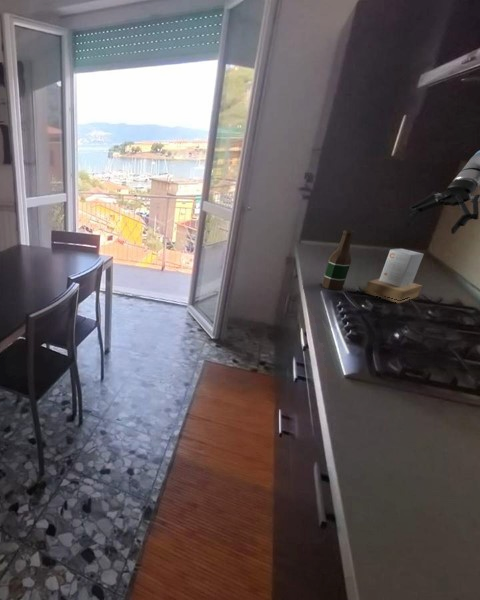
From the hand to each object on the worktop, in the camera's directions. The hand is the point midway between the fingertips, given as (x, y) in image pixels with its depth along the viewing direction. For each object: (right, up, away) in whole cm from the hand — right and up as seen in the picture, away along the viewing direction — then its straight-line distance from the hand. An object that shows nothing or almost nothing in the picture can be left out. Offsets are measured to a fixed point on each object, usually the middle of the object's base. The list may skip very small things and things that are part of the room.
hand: (429, 227), depth 136 cm
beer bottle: (-28, -22, +14) cm, 38 cm away
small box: (-10, -21, +4) cm, 24 cm away
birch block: (-10, -26, +6) cm, 28 cm away
